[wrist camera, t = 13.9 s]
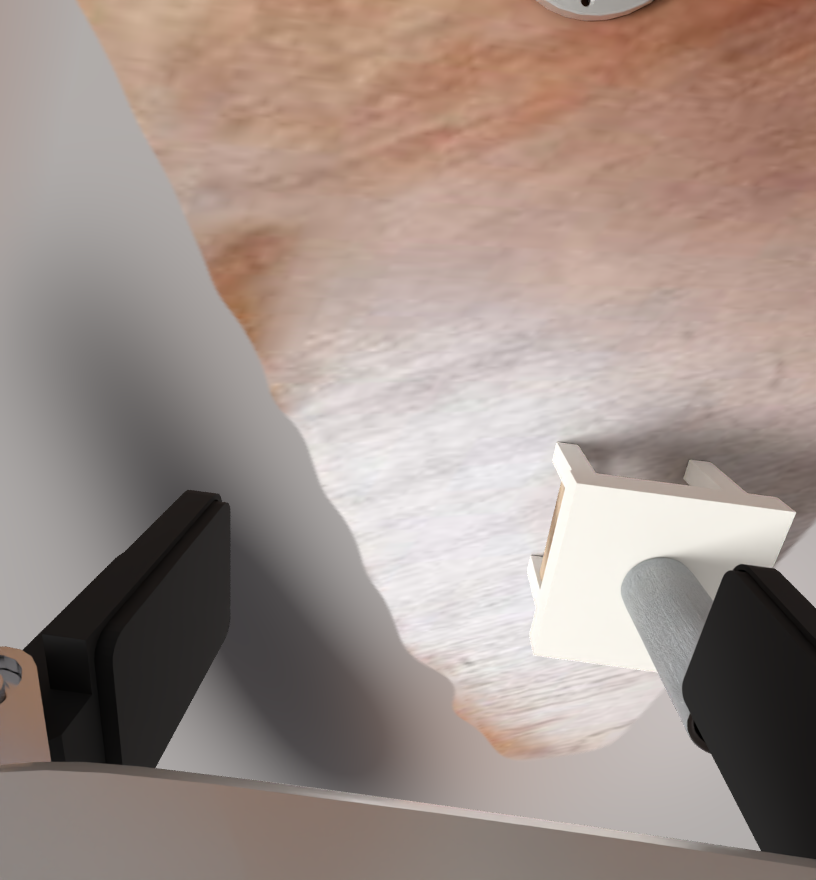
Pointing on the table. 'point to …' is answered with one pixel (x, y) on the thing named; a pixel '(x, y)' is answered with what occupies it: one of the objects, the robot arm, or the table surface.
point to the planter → (668, 623)
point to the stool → (637, 551)
